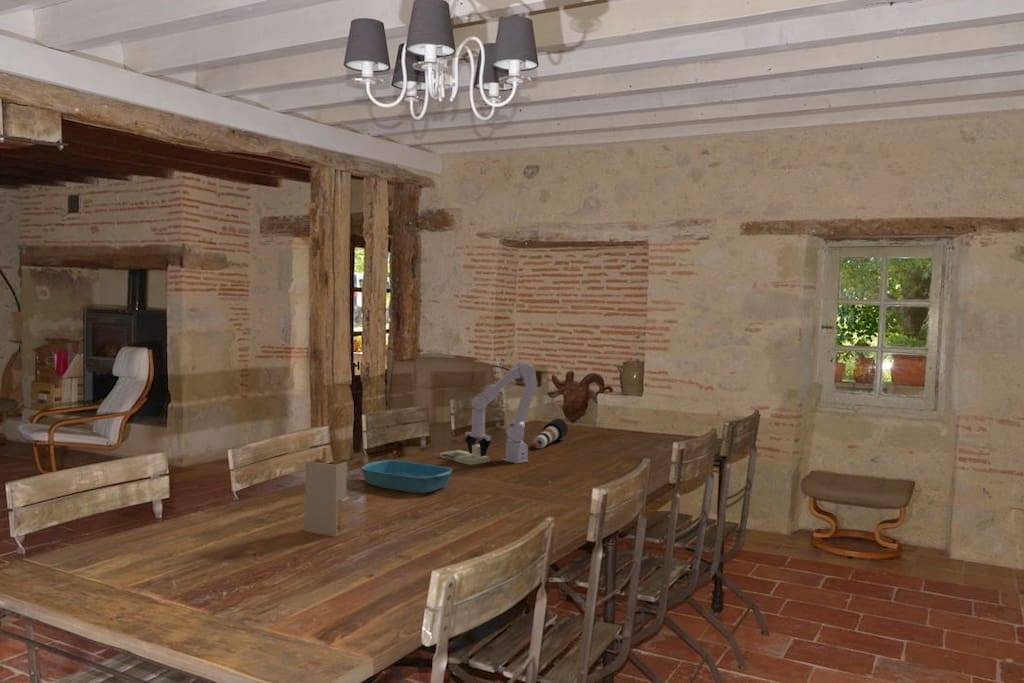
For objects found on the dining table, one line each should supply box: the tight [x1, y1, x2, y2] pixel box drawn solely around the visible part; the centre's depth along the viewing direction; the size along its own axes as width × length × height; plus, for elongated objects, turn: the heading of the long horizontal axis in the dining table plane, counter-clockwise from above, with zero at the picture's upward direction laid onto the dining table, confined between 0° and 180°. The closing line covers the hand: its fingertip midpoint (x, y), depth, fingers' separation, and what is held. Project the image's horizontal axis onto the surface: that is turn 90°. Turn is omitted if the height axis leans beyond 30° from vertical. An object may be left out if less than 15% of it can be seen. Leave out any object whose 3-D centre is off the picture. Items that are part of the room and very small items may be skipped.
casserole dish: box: [361, 459, 453, 494], centre depth 308 cm, size 37×22×7 cm, turn 61°
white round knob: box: [472, 443, 483, 458], centre depth 356 cm, size 5×5×5 cm
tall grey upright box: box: [303, 447, 350, 538], centre depth 245 cm, size 8×12×26 cm
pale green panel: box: [439, 449, 491, 466], centre depth 359 cm, size 20×12×2 cm, turn 45°
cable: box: [532, 418, 569, 449], centre depth 402 cm, size 10×34×10 cm, turn 155°
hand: (477, 454), depth 356 cm, fingers open, 7 cm apart
